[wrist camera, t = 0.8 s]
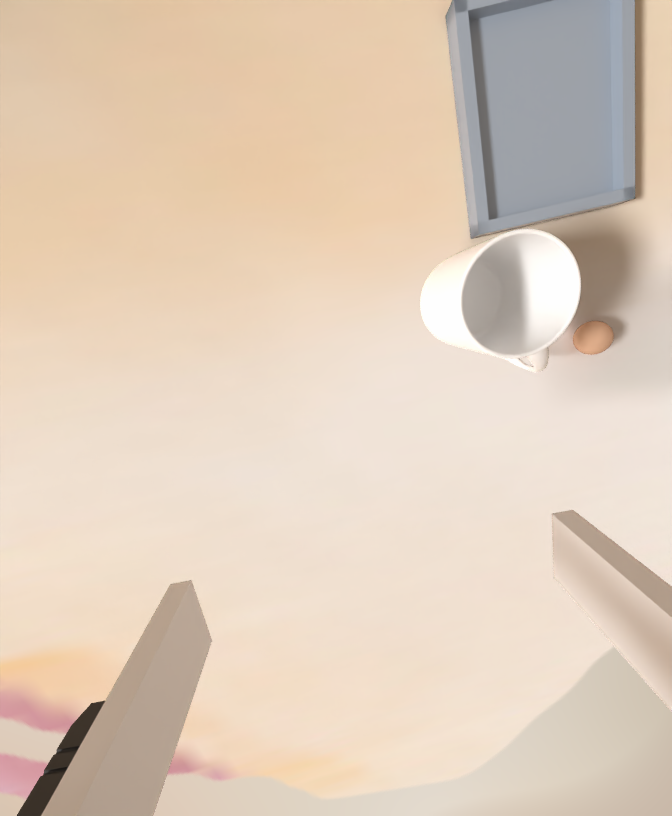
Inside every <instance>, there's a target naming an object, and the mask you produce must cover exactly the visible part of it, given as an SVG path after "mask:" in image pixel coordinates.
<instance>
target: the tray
mask: <svg viewBox="0 0 672 816" xmlns="http://www.w3.org/2000/svg"><path fill="white" fill-rule="evenodd" d="M446 25H447V33H448V42H449V51H450V60H451V69H452V77H453V86H454V95H455V104H456V113H457V121H458V130H459V139H460V148H461V157H462V165H463V174H464V183H465V192H466V201H467V209H468V218H469V227H470V236H471V239H473V238H477V237H481V236H485V235H490V234H494V233H498V232H502V231H507V230H511V229H515V228H520V227H524V226H528V225H532V224H537V223H541V222H545V221H549V220H554V219H558V218H562V217H567V216H571V215H575V214H579V213H584V212H588V211H592V210H596V209H601V208H605V207H609V206H614V205H618V204H621V203H624V202H626V201H629V200H632V199H635V0H452V2H451V5H450V7H449V9H448V12H447V14H446Z"/></svg>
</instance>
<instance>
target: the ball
mask: <svg viewBox="0 0 672 816" xmlns="http://www.w3.org/2000/svg"><path fill="white" fill-rule="evenodd" d="M613 337H614V334H613V331H612V329H611V327H610V326H609V325H607V324H606V323H604V322H601V321H591V322H587V323H585V324H583V325H581V326H580V327H579V328H578V329H577V330H576V332H575V333H574V336H573V343H574V346H575V347H576V349H577V350H579V351H580V352H582V353H584V354H590V355H592V354H598V353H601V352H603V351H605V350H606V349H607V348H608V347H609V346H610V345H611V343H612V341H613Z"/></svg>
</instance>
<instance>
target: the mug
mask: <svg viewBox="0 0 672 816" xmlns="http://www.w3.org/2000/svg"><path fill="white" fill-rule="evenodd" d="M580 295H581V276H580V270H579V267H578V263H577V261H576V259H575V257H574V255H573V253H572V252H571V250H570V249H569V248H568V247H567V245H566V244H565V243H564V242H562V241H561V240H560V239H559V238H557V237H556V236H554V235H552V234H550V233H548V232H545V231H542V230H538V229H528V228H527V229H517V230H512V231H509V232H506V233H503V234H501V235H499V236H496V237H494V238H492V239H489V240H487V241H485V242H482V243H480V244H478V245H475V246H473V247H471V248H468V249H466V250H464V251H461V252H459V253H457V254H455V255H453V256H451V257H449V258H447V259H445V260H444V261H442V262H441V263H440V264H439V265H438V266H436V267H435V269H434V270H433V271H432V272H431V273H430V275H429V276H428V278H427V280H426V282H425V284H424V286H423V289H422V293H421V299H420V309H421V314H422V318H423V321H424V323H425V325H426V327H427V328H428V330H429V331H430V332H431V333H432V334H433V335H434V336H435V337H436V338H437V339H439V340H440V341H442V342H444V343H446V344H449V345H452V346H456V347H460V348H464V349H467V350H471V351H475V352H479V353H483V354H487V355H491V356H495V357H500V358H504V359H506V360H507V361H509V362H511V363H513V364H515V365H517V366H519V367H521V368H523V369H526V370H529V371H532V372H541V371H543V370H544V369H545V368H546V366H547V364H548V358H549V351H548V347H549V346H550V345H551V344H552V343H554V342H555V341H556V340H557V339H558V338H559V337H560V336H561V335H562V334H563V333H564V331H565V330H566V329H567V328H568V326H569V324H570V323H571V321H572V319H573V317H574V315H575V313H576V310H577V307H578V305H579V300H580ZM523 357H527V358H528V359H529V360H530V362H531V363H532V365H533V366H529V365H527V364H525V363H524V362H523V361H522V360H520V359H519V358H523Z"/></svg>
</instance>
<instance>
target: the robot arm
mask: <svg viewBox="0 0 672 816" xmlns="http://www.w3.org/2000/svg"><path fill="white" fill-rule="evenodd" d="M552 540H553V571H554V579H555V580H556V581H557V582H558V583H559V584H560V586H561V587H562V588H563V589H564V590H565V591H566V592H567V594H568V595H569V596H570V597H571V598H572V599H573V600H574V601H575V603H576V604H577V605H578V606H579V607H580V608H581V609H582V611H583V612H584V613H585V614H586V615H587V616H588V617H589V618H590V620H591V621H592V622H593V623H594V624H595V625H596V626H597V628H598V629H599V630H600V631H601V632H602V633H603V634H604V635H605V637H606V638H607V639H608V640H609V641H610V642H611V643H612V645H613V646H614V647H615V648H616V649H617V650H618V651H619V652H620V654H621V655H622V656H623V657H624V658H625V659H626V660H627V661H628V662H629V664H630V665H631V666H632V667H633V668H634V669H635V670H636V672H637V673H638V674H639V675H640V676H641V677H642V679H643V680H644V681H645V682H646V683H647V684H648V685H649V686H650V688H651V689H652V690H653V691H654V692H655V693H656V694H657V696H658V697H659V698H660V699H661V700H662V701H663V702H664V703H665V705H666V706H667V707H668V708H669V709H670V710H671V711H672V586H670V585H669V584H668V583H666V582H665V581H664V580H663V579H661V578H660V577H659V576H657V575H656V574H655V573H653V572H652V571H651V570H650V569H648V568H647V567H646V566H644V565H643V564H642V563H641V562H639V561H638V560H637V559H635V558H634V557H633V556H632V555H630V554H629V553H628V552H626V551H625V550H624V549H623V548H621V547H620V546H619V545H617V544H616V543H615V542H614V541H612V540H611V539H610V538H608V537H607V536H606V535H605V534H603V533H602V532H601V531H599V530H598V529H597V528H596V527H594V526H593V525H592V524H590V523H589V522H588V521H587V520H585V519H584V518H583V517H581V516H580V515H579V514H578V513H576V512H575V511H574V510H570V511H564V512H559V513H553V514H552ZM211 642H212V639H211V636H210V633H209V630H208V627H207V625H206V622H205V619H204V616H203V613H202V610H201V607H200V604H199V601H198V598H197V595H196V592H195V589H194V586H193V584H192V581H185V582H180V583H174V584H170V586H169V588H168V590H167V591H166V593H165V595H164V597H163V599H162V600H161V602H160V604H159V606H158V608H157V609H156V611H155V613H154V615H153V616H152V618H151V620H150V622H149V624H148V625H147V627H146V629H145V631H144V633H143V634H142V636H141V638H140V640H139V642H138V643H137V645H136V647H135V649H134V650H133V652H132V654H131V656H130V658H129V659H128V661H127V663H126V665H125V667H124V668H123V670H122V672H121V674H120V676H119V677H118V679H117V681H116V683H115V684H114V686H113V688H112V690H111V692H110V693H109V695H108V697H107V699H106V701H101V702H96V703H91V704H90V706H89V707H88V708H87V709H86V710H85V711H84V712H83V713H82V714H81V715H80V717H79V718H78V719H77V720H76V721H75V722H74V723H73V724H72V726H71V727H70V729H69V730H68V732H67V734H66V735H65V737H64V739H63V740H62V742H61V744H60V745H59V747H58V749H57V753H56V754H55V755H53V757H52V758H51V760H50V762H49V763H48V765H47V767H46V768H45V770H44V774H43V776H41V777H40V778H39V780H38V781H37V783H36V785H35V786H34V788H33V790H32V791H31V793H30V795H29V796H28V798H27V800H26V801H25V803H24V805H23V806H22V808H21V809H20V811H19V813H18V814H17V816H153V815H154V812H155V809H156V806H157V803H158V800H159V797H160V794H161V791H162V788H163V785H164V782H165V779H166V776H167V773H168V770H169V767H170V764H171V761H172V758H173V755H174V752H175V749H176V746H177V743H178V740H179V737H180V734H181V731H182V728H183V725H184V722H185V719H186V716H187V714H188V711H189V708H190V705H191V702H192V699H193V696H194V693H195V690H196V687H197V684H198V681H199V678H200V675H201V672H202V669H203V666H204V663H205V660H206V657H207V654H208V651H209V648H210V645H211Z"/></svg>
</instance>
